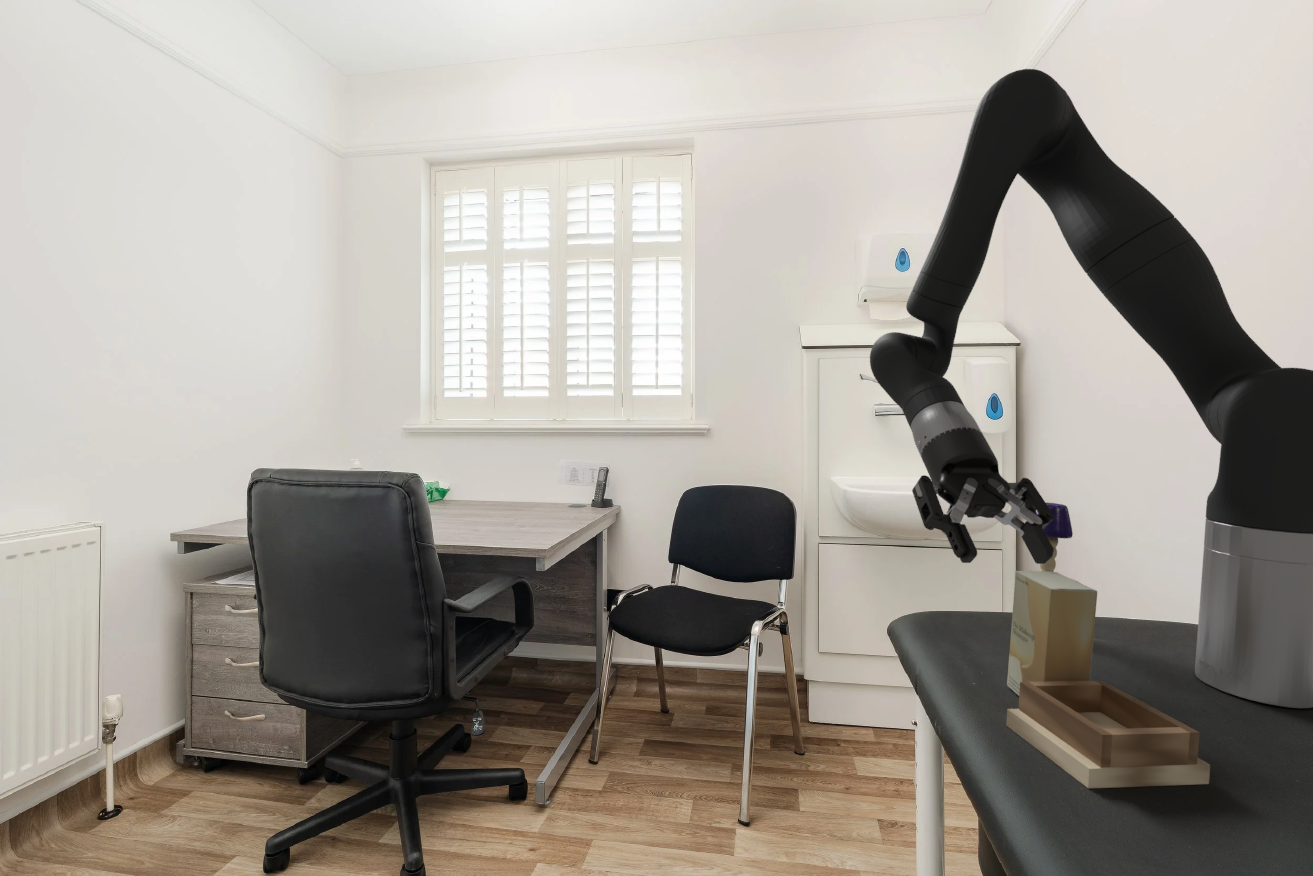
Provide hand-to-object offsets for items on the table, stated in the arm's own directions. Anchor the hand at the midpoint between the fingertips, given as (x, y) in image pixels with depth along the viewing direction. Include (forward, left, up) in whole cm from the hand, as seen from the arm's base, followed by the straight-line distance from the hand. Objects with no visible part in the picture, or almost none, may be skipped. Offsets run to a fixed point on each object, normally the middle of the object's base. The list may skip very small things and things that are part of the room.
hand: (1008, 559), depth 64 cm
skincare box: (0, +6, -13) cm, 14 cm away
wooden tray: (+2, +15, -12) cm, 19 cm away
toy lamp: (-15, -13, -13) cm, 23 cm away
